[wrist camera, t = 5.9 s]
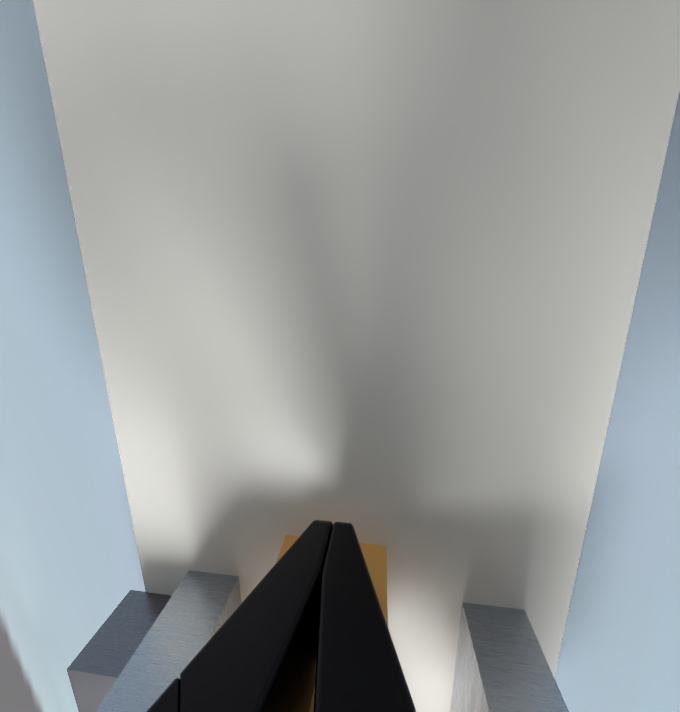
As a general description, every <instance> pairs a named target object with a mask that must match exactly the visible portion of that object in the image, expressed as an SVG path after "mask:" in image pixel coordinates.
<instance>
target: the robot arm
mask: <svg viewBox="0 0 680 712" xmlns="http://www.w3.org/2000/svg"><path fill="white" fill-rule="evenodd" d="M314 686H315V694H314V711H313V712H416V709H415V706H414V703H413V700H412V697H411V694H410V691H409V688H408V685H407V682H406V679H405V676H404V674H403V671H402V668H401V665H400V662H399V659H398V656H397V653H396V650H395V647H394V644H393V641H392V638H391V635H390V632H389V629H388V626H387V624H386V621H385V618H384V615H383V612H382V609H381V606H380V603H379V600H378V597H377V594H376V591H375V588H374V585H373V582H372V579H371V576H370V574H369V571H368V568H367V565H366V562H365V559H364V556H363V553H362V550H361V547H360V544H359V541H358V538H357V535H356V532H355V529H354V527H353V525H352V524H351V523H346V522H335V523H334V524H332V522H331V521H324V520H314V521H313V522H312V523H311V524H310V525H309V526H308V527H307V529H306V530H305V531H304V532H303V533H302V534H301V535H300V537H299V538H298V539H297V540H296V541H295V542H294V543H293V545H292V546H291V547H290V548H289V549H288V550H287V551H286V553H285V554H284V555H283V556H282V557H281V558H280V559H279V561H278V562H277V563H276V564H275V565H274V566H273V567H272V569H271V570H270V571H269V572H268V573H267V574H266V575H265V577H264V578H263V579H262V580H261V581H260V582H259V583H258V585H257V586H256V587H255V588H254V589H253V590H252V591H251V593H250V594H249V595H248V596H247V597H246V598H245V599H244V601H243V602H242V603H241V604H240V605H239V606H238V608H237V609H236V610H235V611H234V612H233V613H232V614H231V616H230V617H229V618H228V619H227V620H226V621H225V622H224V624H223V625H222V626H221V627H220V628H219V629H218V630H217V632H216V633H215V634H214V635H213V636H212V637H211V638H210V640H209V641H208V642H207V643H206V644H205V645H204V646H203V648H202V649H201V650H200V651H199V652H198V653H197V654H196V656H195V657H194V658H193V659H192V660H191V661H190V662H189V664H188V665H187V666H186V667H185V668H184V669H183V670H182V672H181V673H180V679H179V678H175V679H174V680H173V681H172V683H171V684H170V685H169V686H168V687H167V688H166V690H165V691H164V692H163V693H162V694H161V695H160V696H159V698H158V699H157V700H156V701H155V702H154V703H153V704H152V706H151V707H150V708H149V709H148V710H147V711H146V712H309V709H310V705H311V700H312V695H313V691H314Z"/></svg>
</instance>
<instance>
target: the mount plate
mask: <svg viewBox="0 0 680 712" xmlns="http://www.w3.org/2000/svg"><path fill="white" fill-rule="evenodd" d="M33 4H34V9H35V15H36V20H37V25H38V30H39V36H40V41H41V46H42V51H43V57H44V62H45V67H46V72H47V77H48V83H49V88H50V93H51V98H52V104H53V109H54V114H55V119H56V125H57V130H58V135H59V140H60V145H61V151H62V156H63V161H64V166H65V172H66V177H67V182H68V187H69V193H70V198H71V203H72V208H73V214H74V219H75V224H76V229H77V234H78V240H79V245H80V250H81V255H82V261H83V266H84V271H85V276H86V282H87V287H88V292H89V297H90V302H91V308H92V313H93V318H94V323H95V329H96V334H97V339H98V344H99V350H100V355H101V360H102V365H103V370H104V376H105V381H106V386H107V391H108V397H109V402H110V407H111V412H112V418H113V423H114V428H115V433H116V438H117V444H118V449H119V454H120V459H121V465H122V470H123V475H124V480H125V486H126V491H127V496H128V501H129V506H130V512H131V517H132V522H133V527H134V533H135V538H136V543H137V548H138V554H139V559H140V564H141V569H142V574H143V580H144V585H145V590H146V592H149V593H157V594H165V595H173V593H174V592H175V590H176V589H177V587H178V586H179V584H180V583H181V581H182V580H183V578H184V577H185V575H186V574H187V572H188V571H198V572H207V573H215V574H224V575H232V576H239V584H240V593H241V603H242V602H243V601H244V599H245V598H246V597H247V596H248V595H249V594H250V593H251V591H252V590H253V589H254V588H255V587H256V586H257V585H258V583H259V582H260V581H261V580H262V579H263V578H264V577H265V575H266V574H267V573H268V572H269V571H270V570H271V569H272V567H273V566H274V565H275V564H276V561H277V559H278V556H279V553H280V551H281V548H282V545H283V542H284V540H285V537H286V535H289V536H299V537H300V535H301V534H302V533H303V532H304V531H305V530H306V529H307V527H308V526H309V525H310V524H311V523H312V522H313V521H314V520H324V521H331V522H332V524H334V523H335V522H346V523H351V524H352V525H353V527H354V529H355V532H356V535H357V538H358V541H359V543H367V544H376V545H386V552H387V606H388V629H389V632H390V635H391V638H392V641H393V644H394V647H395V650H396V653H397V656H398V659H399V662H400V665H401V668H402V671H403V674H404V676H405V679H406V682H407V685H408V688H409V691H410V694H411V697H412V700H413V703H414V706H415V709H416V712H450V708H451V699H452V690H453V681H454V672H455V663H456V654H457V645H458V636H459V626H460V617H461V608H462V602H463V603H472V604H481V605H489V606H498V607H506V608H515V609H523V610H525V612H526V614H527V616H528V619H529V621H530V623H531V626H532V628H533V630H534V633H535V635H536V637H537V640H538V642H539V644H540V646H541V649H542V651H543V653H544V656H545V658H546V660H547V663H548V665H549V667H550V670H551V672H552V674H553V677H555V673H556V668H557V663H558V659H559V654H560V649H561V645H562V640H563V635H564V630H565V626H566V621H567V616H568V612H569V607H570V602H571V598H572V593H573V588H574V584H575V579H576V574H577V570H578V565H579V560H580V556H581V551H582V546H583V541H584V537H585V532H586V527H587V523H588V518H589V513H590V509H591V504H592V499H593V495H594V490H595V485H596V481H597V476H598V471H599V466H600V462H601V457H602V452H603V448H604V443H605V438H606V434H607V429H608V424H609V420H610V415H611V410H612V406H613V401H614V396H615V391H616V387H617V382H618V377H619V373H620V368H621V363H622V359H623V354H624V349H625V345H626V340H627V335H628V331H629V326H630V321H631V317H632V312H633V307H634V302H635V298H636V293H637V288H638V284H639V279H640V274H641V270H642V265H643V260H644V256H645V251H646V246H647V242H648V237H649V232H650V227H651V223H652V218H653V213H654V209H655V204H656V199H657V195H658V190H659V185H660V181H661V176H662V171H663V167H664V162H665V157H666V153H667V148H668V143H669V138H670V134H671V129H672V124H673V120H674V115H675V110H676V106H677V101H678V96H679V92H680V0H33Z"/></svg>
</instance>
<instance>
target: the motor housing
mask: <svg viewBox="0 0 680 712" xmlns="http://www.w3.org/2000/svg"><path fill="white" fill-rule="evenodd" d="M240 604H241V593H240V584H239V576H232V575H224V574H215V573H207V572H198V571H188V572H187V574H186V575H185V577H184V578H183V580H182V581H181V583H180V584H179V586H178V587H177V589H176V590H175V592H174V593H173V595H165V594H157V593H149V592H141V591H134V590H130V592H129V593H128V594H127V595H126V596H125V598H124V599H123V600H122V601H121V603H120V604H119V605H118V606H117V608H116V609H115V610H114V611H113V613H112V614H111V615H110V616H109V618H108V619H107V620H106V621H105V623H104V624H103V625H102V626H101V628H100V629H99V630H98V631H97V633H96V634H95V635H94V636H93V637H92V639H91V640H90V641H89V642H88V644H87V645H86V646H85V647H84V649H83V650H82V651H81V652H80V654H79V655H78V656H77V657H76V659H75V660H74V661H73V662H72V664H71V665H70V666H69V667H68V669H67V672H68V675H69V679H70V682H71V686H72V689H73V693H74V696H75V700H76V703H77V707H78V710H79V712H146V711H147V710H148V709H149V708H150V707H151V706H152V704H153V703H154V702H155V701H156V700H157V699H158V698H159V696H160V695H161V694H162V693H163V692H164V691H165V690H166V688H167V687H168V686H169V685H170V684H171V683H172V681H173V680H174V679H175V678H179V679H180V673H181V672H182V670H183V669H184V668H185V667H186V666H187V665H188V664H189V662H190V661H191V660H192V659H193V658H194V657H195V656H196V654H197V653H198V652H199V651H200V650H201V649H202V648H203V646H204V645H205V644H206V643H207V642H208V641H209V640H210V638H211V637H212V636H213V635H214V634H215V633H216V632H217V630H218V629H219V628H220V627H221V626H222V625H223V624H224V622H225V621H226V620H227V619H228V618H229V617H230V616H231V614H232V613H233V612H234V611H235V610H236V609H237V608H238V606H239V605H240ZM450 712H569V711H568V709H567V707H566V704H565V702H564V700H563V697H562V695H561V693H560V690H559V688H558V686H557V684H556V681H555V679H554V677H553V674H552V672H551V670H550V667H549V665H548V663H547V660H546V658H545V656H544V653H543V651H542V649H541V646H540V644H539V642H538V640H537V637H536V635H535V633H534V630H533V628H532V626H531V623H530V621H529V619H528V616H527V614H526V612H525V610H523V609H515V608H506V607H498V606H489V605H481V604H472V603H463V602H462V608H461V617H460V626H459V636H458V645H457V654H456V663H455V672H454V681H453V690H452V699H451V708H450Z"/></svg>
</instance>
